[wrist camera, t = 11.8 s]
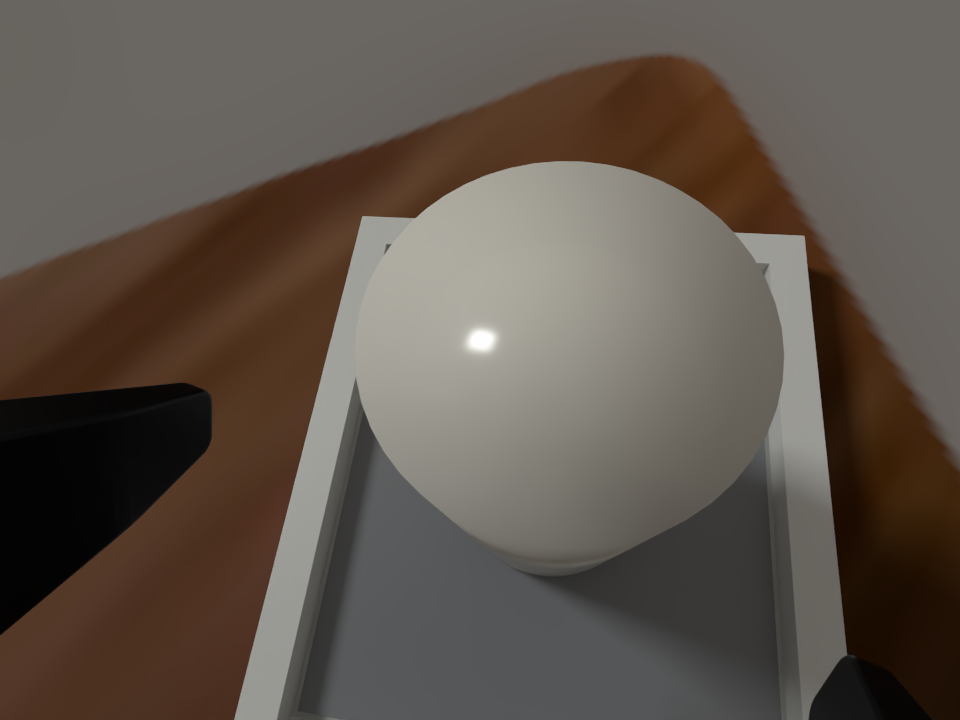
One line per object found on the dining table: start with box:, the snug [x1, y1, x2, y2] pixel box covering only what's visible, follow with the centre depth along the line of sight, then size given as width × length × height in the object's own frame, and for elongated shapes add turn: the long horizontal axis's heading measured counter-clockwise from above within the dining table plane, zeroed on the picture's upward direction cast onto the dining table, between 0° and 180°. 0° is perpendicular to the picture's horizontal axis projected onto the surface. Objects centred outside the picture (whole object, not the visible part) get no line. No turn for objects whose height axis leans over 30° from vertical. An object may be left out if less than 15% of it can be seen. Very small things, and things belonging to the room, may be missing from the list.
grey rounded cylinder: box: [354, 161, 784, 577], centre depth 13 cm, size 6×6×11 cm
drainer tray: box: [234, 216, 847, 720], centre depth 18 cm, size 18×16×2 cm
